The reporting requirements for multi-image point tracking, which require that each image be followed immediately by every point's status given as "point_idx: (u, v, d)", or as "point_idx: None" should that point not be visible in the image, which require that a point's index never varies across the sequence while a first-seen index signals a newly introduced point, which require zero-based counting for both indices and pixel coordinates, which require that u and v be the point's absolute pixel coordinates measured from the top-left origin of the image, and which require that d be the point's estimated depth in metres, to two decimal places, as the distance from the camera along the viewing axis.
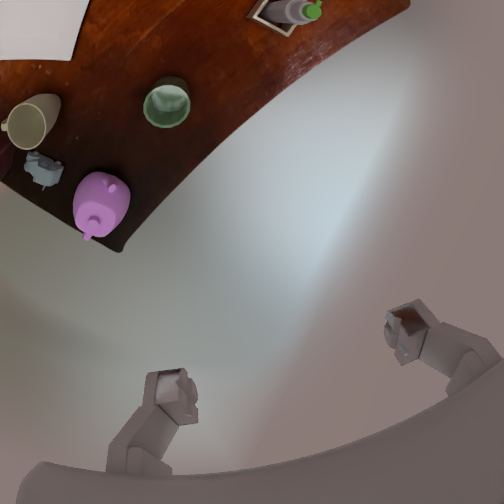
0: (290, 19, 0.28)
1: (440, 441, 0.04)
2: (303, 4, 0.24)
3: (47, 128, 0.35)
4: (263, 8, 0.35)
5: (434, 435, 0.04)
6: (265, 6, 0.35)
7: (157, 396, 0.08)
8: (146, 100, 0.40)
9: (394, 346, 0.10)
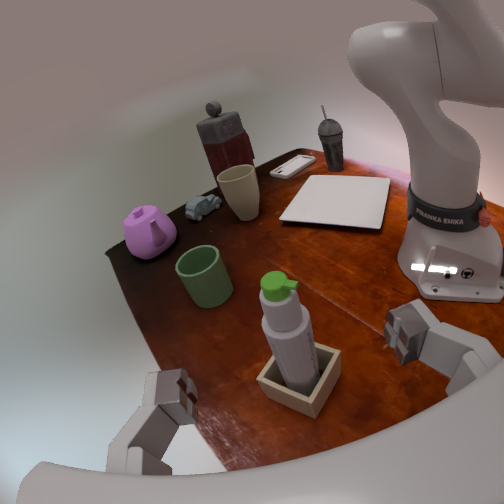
0: None
1: (440, 441, 0.04)
2: None
3: (225, 185, 0.62)
4: None
5: (434, 435, 0.04)
6: None
7: (157, 396, 0.08)
8: (210, 246, 0.50)
9: (393, 346, 0.10)
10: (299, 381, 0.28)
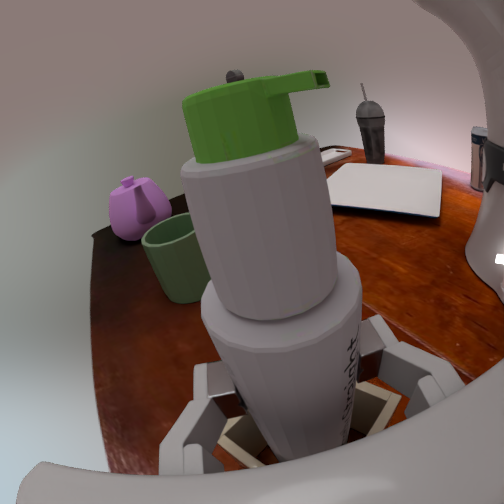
0: None
1: (440, 441, 0.04)
2: None
3: None
4: None
5: (434, 435, 0.04)
6: None
7: (210, 388, 0.08)
8: None
9: None
10: None
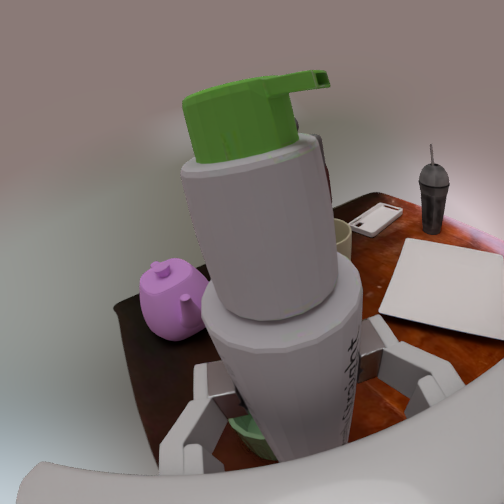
0: None
1: (440, 441, 0.04)
2: None
3: None
4: None
5: (434, 435, 0.04)
6: None
7: (210, 388, 0.08)
8: None
9: None
10: None
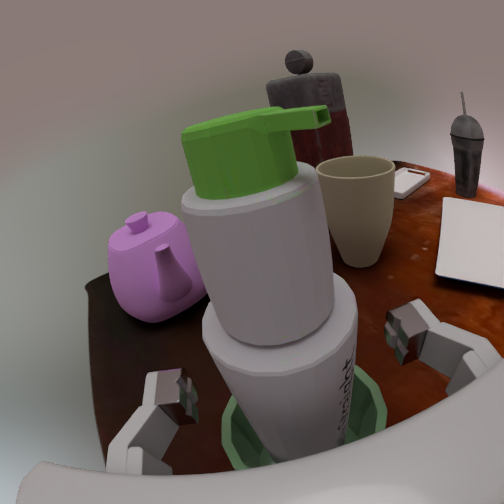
0: None
1: (440, 441, 0.04)
2: (295, 162, 0.06)
3: (340, 186, 0.26)
4: None
5: (434, 435, 0.04)
6: None
7: (157, 396, 0.08)
8: None
9: (394, 346, 0.10)
10: None
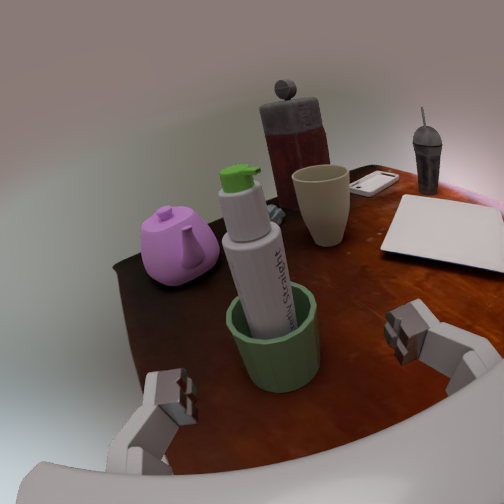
0: None
1: (440, 441, 0.04)
2: (255, 181, 0.19)
3: (307, 187, 0.40)
4: None
5: (434, 435, 0.04)
6: None
7: (157, 396, 0.08)
8: (294, 284, 0.27)
9: (394, 346, 0.10)
10: (269, 336, 0.23)
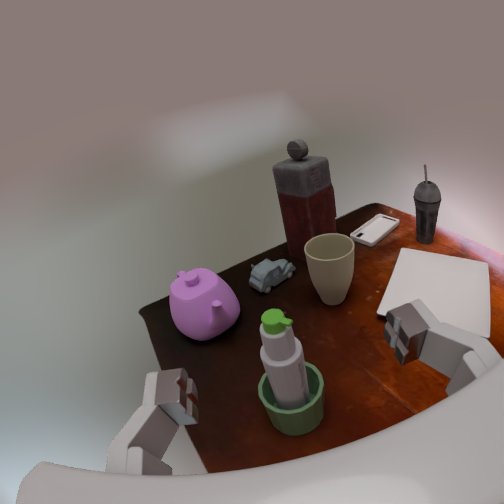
0: None
1: (440, 441, 0.04)
2: None
3: (317, 263, 0.47)
4: None
5: (434, 435, 0.04)
6: None
7: (157, 396, 0.08)
8: (308, 364, 0.34)
9: (393, 346, 0.10)
10: (290, 405, 0.30)
